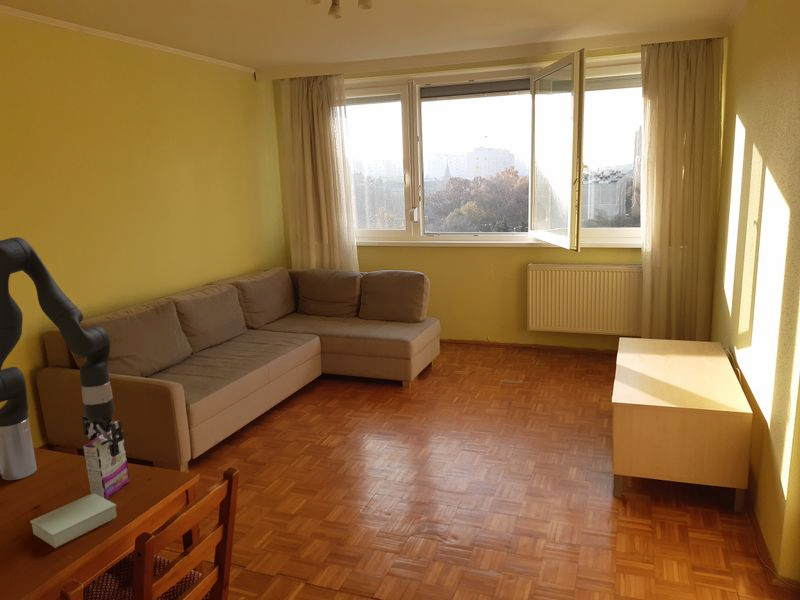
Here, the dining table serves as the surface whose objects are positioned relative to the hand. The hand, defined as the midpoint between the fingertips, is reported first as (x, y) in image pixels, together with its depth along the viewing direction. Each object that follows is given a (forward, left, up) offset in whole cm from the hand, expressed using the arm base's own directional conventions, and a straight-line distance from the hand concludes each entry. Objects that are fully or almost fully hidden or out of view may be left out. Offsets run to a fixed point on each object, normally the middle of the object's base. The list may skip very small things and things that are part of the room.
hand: (105, 452), depth 174 cm
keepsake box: (+8, -16, -12) cm, 21 cm away
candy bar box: (0, 0, -12) cm, 12 cm away
